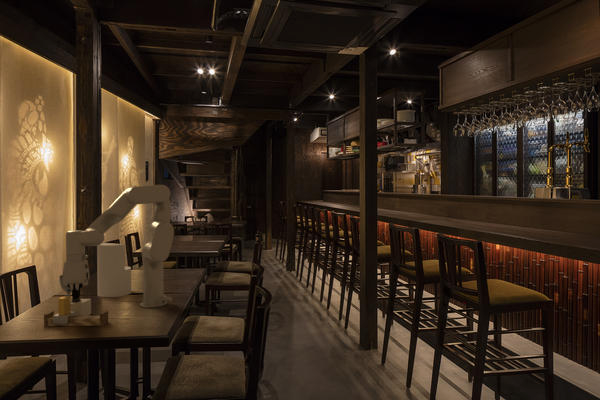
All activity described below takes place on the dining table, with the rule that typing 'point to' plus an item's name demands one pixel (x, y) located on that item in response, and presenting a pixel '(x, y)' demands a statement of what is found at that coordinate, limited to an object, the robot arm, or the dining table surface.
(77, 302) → the plunger
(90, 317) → the rail
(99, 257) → the cylinder
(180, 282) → the dining table surface
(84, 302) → the housing
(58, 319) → the carriage
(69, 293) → the wine glass
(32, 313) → the dining table surface
